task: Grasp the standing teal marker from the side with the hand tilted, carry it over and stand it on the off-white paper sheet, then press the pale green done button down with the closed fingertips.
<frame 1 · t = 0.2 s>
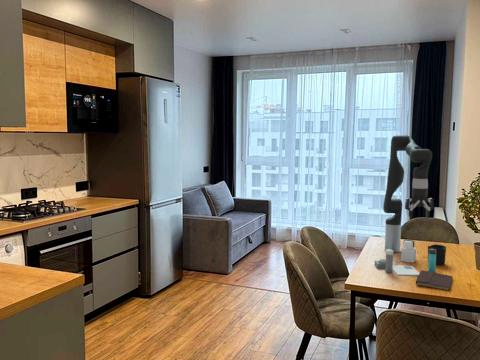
hand: (418, 217, 225), 29 cm above the table, tool pointing down, fingers open, 8 cm apart
grey marker: (388, 272, 226), on the table
notebook: (434, 282, 210), on the table, touching sheet
sheet: (404, 271, 228), on the table
marker: (431, 271, 227), on the table
button housing: (382, 266, 236), on the table
pen holder: (436, 263, 242), on the table
button: (382, 261, 236), point 3 cm above the table, slide at 0.0 cm
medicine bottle: (408, 261, 248), on the table
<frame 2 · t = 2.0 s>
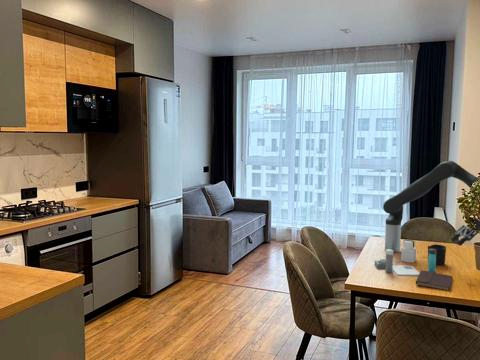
hand: (455, 242, 224), 16 cm above the table, tool tilted 45°, fingers open, 8 cm apart
nothing on the table moved.
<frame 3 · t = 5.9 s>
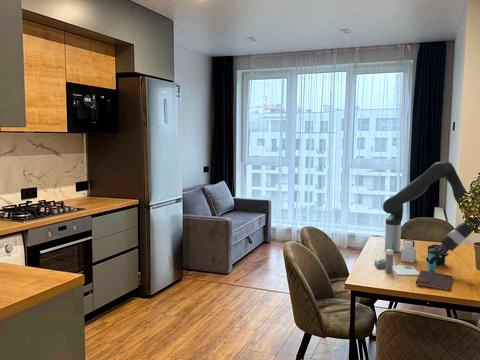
hand: (428, 261, 227), 5 cm above the table, tool tilted 45°, fingers closed on marker, 3 cm apart
marker: (431, 271, 227), on the table, touching gripper
everything else where it was.
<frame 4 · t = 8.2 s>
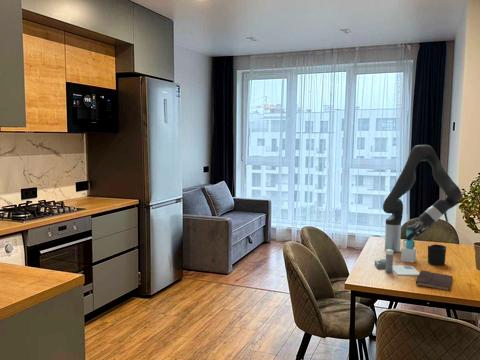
hand: (406, 238, 227), 18 cm above the table, tool tilted 45°, fingers closed on marker, 3 cm apart
marker: (409, 248, 227), point 12 cm above the table, touching gripper
everything else where it was.
when the fingers open (6 cm above the table, at t = 10.8 s): marker stays where it is, resting on sheet.
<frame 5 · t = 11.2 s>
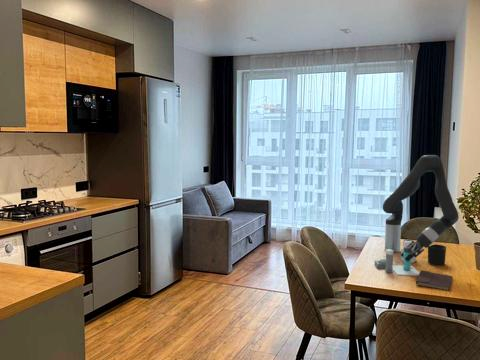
hand: (404, 258, 228), 7 cm above the table, tool tilted 45°, fingers open, 7 cm apart
marker: (406, 269, 228), point 1 cm above the table, touching sheet
everything else where it was.
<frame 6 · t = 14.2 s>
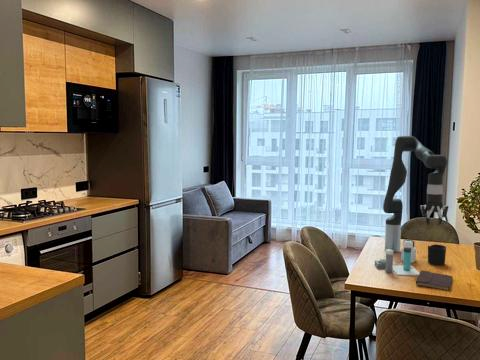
hand: (433, 224, 225), 25 cm above the table, tool pointing down, fingers open, 5 cm apart
nothing on the table moved.
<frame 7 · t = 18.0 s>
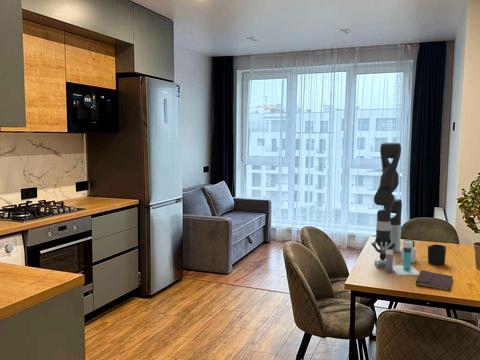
hand: (382, 259, 236), 4 cm above the table, tool pointing down, fingers closed
button: (382, 262, 236), point 3 cm above the table, slide at 0.4 cm, touching gripper
everything else where it was.
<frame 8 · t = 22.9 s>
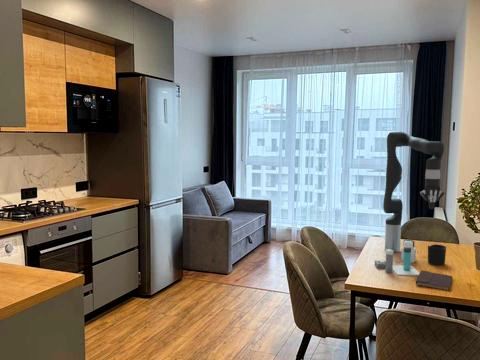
hand: (431, 208, 236), 32 cm above the table, tool pointing down, fingers closed
button: (382, 263, 236), point 2 cm above the table, slide at 1.3 cm
everything else where it was.
at the end: marker inside the target area on the sheet (1.1 cm from its centre), point 0.6 cm above the sheet's base; marker tilted 0°; button slide at 1.3 cm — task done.
